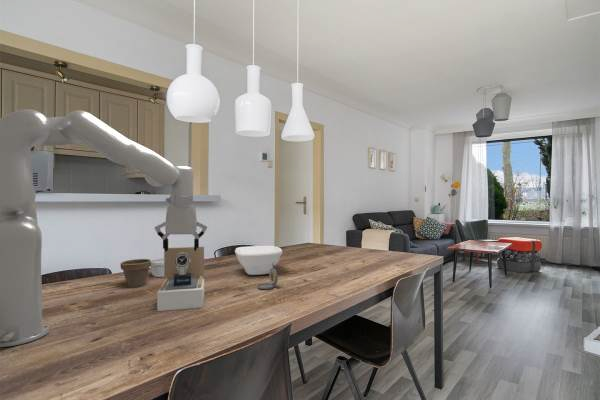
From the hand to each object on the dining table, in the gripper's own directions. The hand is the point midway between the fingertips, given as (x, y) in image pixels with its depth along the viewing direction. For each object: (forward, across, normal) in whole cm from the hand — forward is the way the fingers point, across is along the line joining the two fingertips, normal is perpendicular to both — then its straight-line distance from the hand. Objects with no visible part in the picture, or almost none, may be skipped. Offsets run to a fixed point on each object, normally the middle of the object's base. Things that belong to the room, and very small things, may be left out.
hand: (181, 250), depth 115 cm
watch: (+12, +1, 0) cm, 12 cm away
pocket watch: (+18, +33, +10) cm, 38 cm away
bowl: (+17, +32, +35) cm, 51 cm away
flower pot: (+18, -20, +27) cm, 39 cm away
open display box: (+18, +1, 0) cm, 18 cm away
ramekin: (+18, -11, +44) cm, 49 cm away
